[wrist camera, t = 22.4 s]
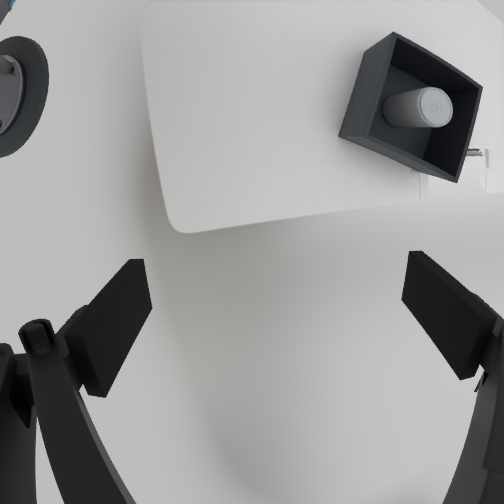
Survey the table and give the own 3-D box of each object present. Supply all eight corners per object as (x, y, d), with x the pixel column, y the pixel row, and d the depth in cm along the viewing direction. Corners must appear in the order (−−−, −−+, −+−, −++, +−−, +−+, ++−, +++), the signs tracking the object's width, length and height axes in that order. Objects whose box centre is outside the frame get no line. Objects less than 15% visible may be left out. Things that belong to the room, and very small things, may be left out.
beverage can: (376, 98, 39) (414, 89, 28) (404, 93, 38) (446, 83, 27) (386, 130, 40) (426, 131, 29) (413, 123, 40) (457, 123, 29)
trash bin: (337, 136, 42) (362, 137, 32) (364, 51, 37) (393, 31, 27) (418, 171, 43) (457, 183, 33) (442, 92, 39) (482, 86, 28)
